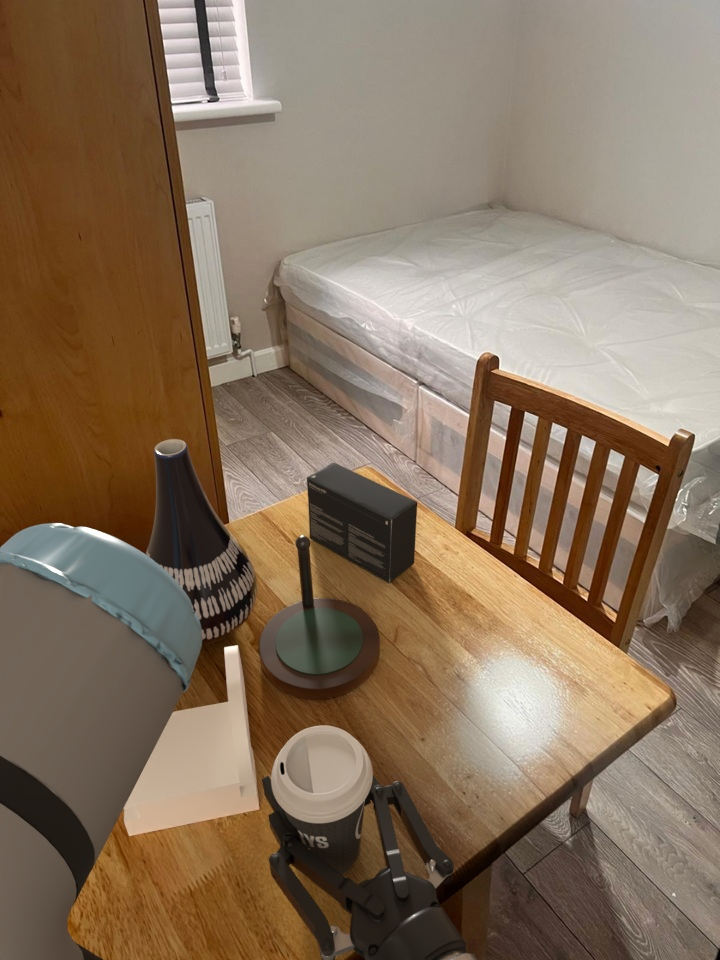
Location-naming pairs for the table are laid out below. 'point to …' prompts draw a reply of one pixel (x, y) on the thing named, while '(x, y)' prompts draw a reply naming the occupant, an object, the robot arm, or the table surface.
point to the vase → (199, 546)
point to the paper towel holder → (318, 642)
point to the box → (362, 521)
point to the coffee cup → (324, 791)
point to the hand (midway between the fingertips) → (301, 766)
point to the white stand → (198, 764)
